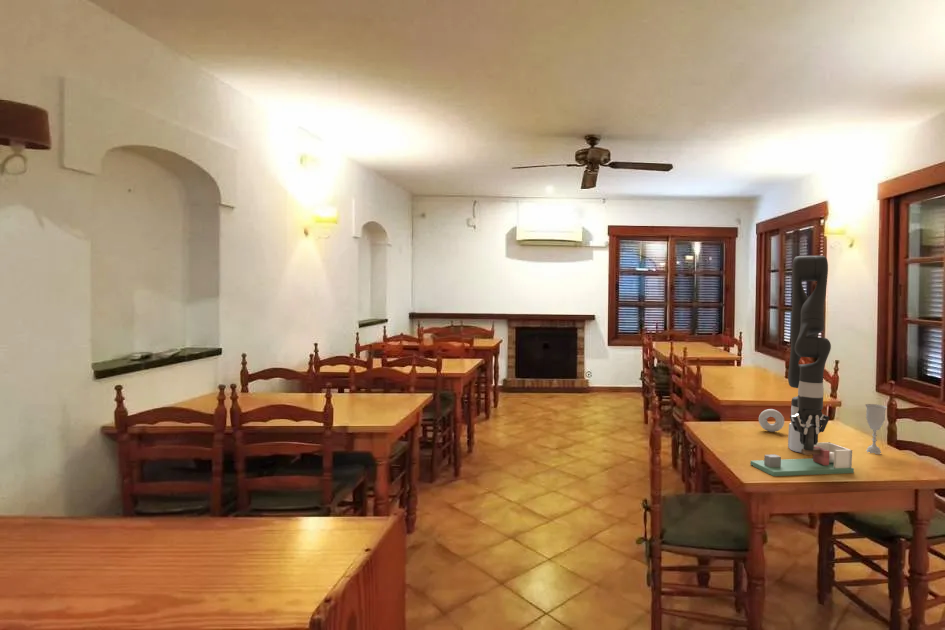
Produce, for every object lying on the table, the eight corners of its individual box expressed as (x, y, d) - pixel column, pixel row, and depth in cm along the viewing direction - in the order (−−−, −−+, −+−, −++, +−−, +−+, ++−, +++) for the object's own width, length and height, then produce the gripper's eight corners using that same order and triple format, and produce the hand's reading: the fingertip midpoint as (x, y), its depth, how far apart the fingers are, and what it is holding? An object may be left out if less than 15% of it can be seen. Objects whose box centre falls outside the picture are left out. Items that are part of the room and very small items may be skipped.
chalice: (888, 455, 212) (891, 408, 211) (868, 454, 214) (870, 407, 213) (878, 450, 219) (881, 404, 218) (859, 449, 221) (861, 403, 220)
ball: (828, 463, 199) (820, 458, 198) (834, 453, 199) (826, 448, 199) (837, 467, 195) (829, 461, 194) (843, 457, 195) (835, 451, 195)
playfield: (750, 464, 199) (750, 451, 199) (826, 462, 203) (827, 448, 203) (773, 476, 187) (773, 461, 187) (853, 472, 192) (854, 458, 191)
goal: (813, 459, 201) (814, 442, 201) (828, 458, 202) (829, 442, 202) (835, 468, 192) (836, 450, 191) (851, 467, 192) (852, 450, 192)
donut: (757, 430, 247) (758, 408, 247) (758, 429, 250) (759, 407, 250) (783, 434, 242) (784, 411, 242) (784, 432, 245) (785, 409, 245)
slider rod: (797, 461, 198) (799, 424, 197) (817, 460, 199) (819, 424, 198) (807, 465, 193) (809, 428, 192) (828, 465, 194) (830, 427, 193)
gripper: (821, 392, 199) (819, 440, 200) (784, 392, 197) (782, 441, 198) (837, 396, 192) (835, 446, 192) (799, 397, 190) (797, 447, 191)
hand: (808, 444), depth 195 cm, fingers closed on slider rod, 3 cm apart
